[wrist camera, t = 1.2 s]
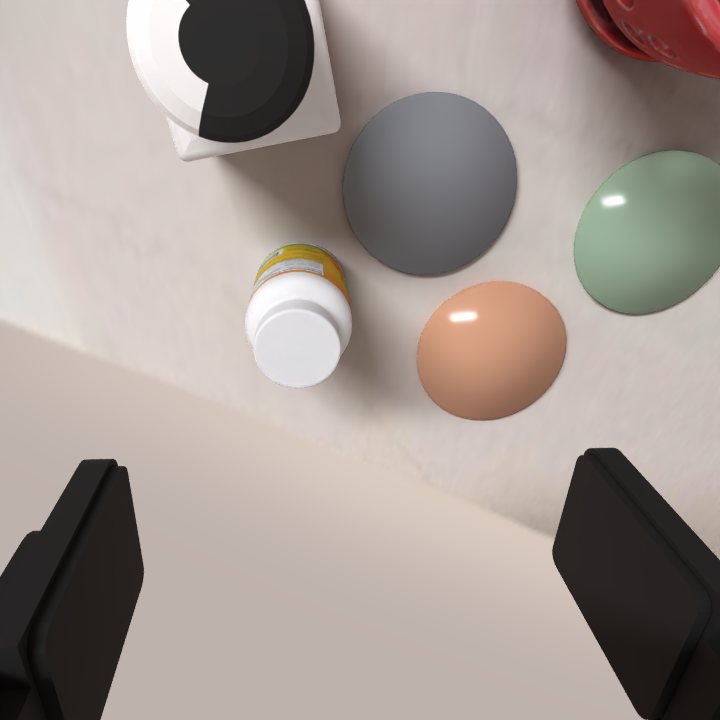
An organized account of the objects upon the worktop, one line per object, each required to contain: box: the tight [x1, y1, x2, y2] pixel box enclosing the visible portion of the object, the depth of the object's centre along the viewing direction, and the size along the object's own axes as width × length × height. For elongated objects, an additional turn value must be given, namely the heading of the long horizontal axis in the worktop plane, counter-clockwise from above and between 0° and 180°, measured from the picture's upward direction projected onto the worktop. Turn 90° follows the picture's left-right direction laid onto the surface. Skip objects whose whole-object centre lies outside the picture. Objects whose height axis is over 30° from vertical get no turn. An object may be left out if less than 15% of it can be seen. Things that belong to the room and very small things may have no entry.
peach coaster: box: [417, 281, 566, 420], centre depth 36 cm, size 10×10×1 cm
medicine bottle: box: [126, 0, 341, 161], centre depth 22 cm, size 7×7×12 cm
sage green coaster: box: [574, 150, 720, 314], centre depth 34 cm, size 10×10×1 cm
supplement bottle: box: [245, 242, 352, 388], centre depth 29 cm, size 5×5×10 cm
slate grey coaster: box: [343, 92, 517, 275], centre depth 31 cm, size 10×10×1 cm
